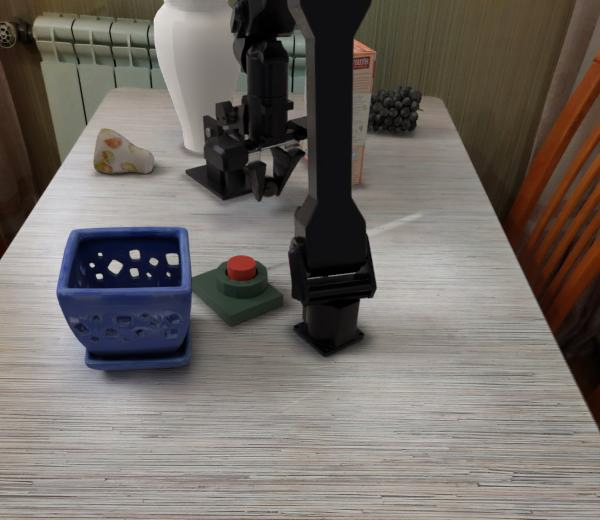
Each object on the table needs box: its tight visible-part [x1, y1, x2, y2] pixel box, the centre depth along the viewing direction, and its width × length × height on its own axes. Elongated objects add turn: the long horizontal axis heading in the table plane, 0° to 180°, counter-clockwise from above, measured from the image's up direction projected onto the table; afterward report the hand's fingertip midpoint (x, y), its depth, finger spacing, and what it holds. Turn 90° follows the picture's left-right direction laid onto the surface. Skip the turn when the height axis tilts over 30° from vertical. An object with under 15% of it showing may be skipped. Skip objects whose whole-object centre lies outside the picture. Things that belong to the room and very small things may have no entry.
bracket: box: [184, 115, 253, 201], centre depth 99 cm, size 12×9×11 cm
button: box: [226, 254, 256, 281], centre depth 76 cm, size 4×4×2 cm
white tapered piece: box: [92, 127, 155, 175], centre depth 102 cm, size 8×10×10 cm
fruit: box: [367, 85, 424, 135], centre depth 120 cm, size 9×8×15 cm
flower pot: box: [55, 226, 193, 371], centre depth 67 cm, size 13×13×12 cm
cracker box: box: [301, 38, 377, 186], centre depth 100 cm, size 14×6×21 cm, turn 22°
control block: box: [192, 259, 284, 327], centre depth 78 cm, size 10×8×4 cm
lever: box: [215, 118, 278, 199], centre depth 95 cm, size 16×3×3 cm, turn 38°
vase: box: [153, 0, 242, 154], centre depth 103 cm, size 15×15×29 cm
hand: (267, 197), depth 94 cm, fingers closed on lever, 3 cm apart
